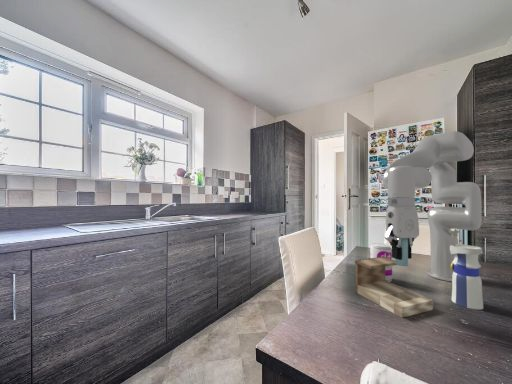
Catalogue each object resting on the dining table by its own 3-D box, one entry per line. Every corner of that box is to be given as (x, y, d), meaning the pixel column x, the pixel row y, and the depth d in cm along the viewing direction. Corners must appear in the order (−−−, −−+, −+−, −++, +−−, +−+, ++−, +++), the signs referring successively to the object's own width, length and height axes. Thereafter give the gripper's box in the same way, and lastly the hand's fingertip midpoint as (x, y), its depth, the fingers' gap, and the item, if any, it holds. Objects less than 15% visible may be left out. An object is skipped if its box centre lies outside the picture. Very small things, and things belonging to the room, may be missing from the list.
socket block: (383, 286, 85) (382, 256, 85) (433, 309, 68) (432, 271, 68) (355, 292, 81) (355, 260, 81) (401, 317, 64) (401, 277, 64)
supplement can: (395, 284, 88) (395, 247, 88) (374, 282, 90) (373, 246, 90) (387, 276, 96) (387, 243, 96) (367, 275, 98) (367, 242, 98)
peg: (410, 265, 70) (410, 234, 70) (402, 266, 68) (402, 235, 69) (400, 262, 73) (399, 233, 73) (392, 263, 72) (392, 233, 72)
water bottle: (444, 300, 74) (443, 228, 75) (457, 295, 78) (456, 227, 78) (475, 312, 67) (474, 232, 67) (489, 306, 70) (487, 230, 71)
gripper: (393, 203, 65) (393, 263, 65) (430, 203, 70) (430, 259, 70) (372, 202, 72) (373, 257, 72) (407, 202, 78) (407, 253, 77)
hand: (401, 257), depth 71 cm, fingers closed on peg, 3 cm apart
